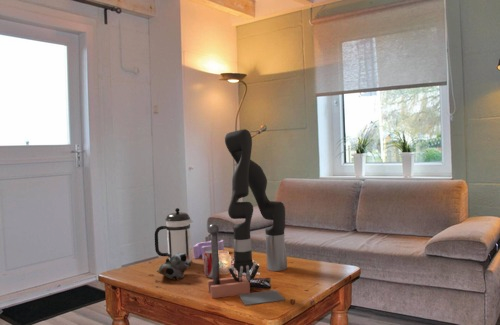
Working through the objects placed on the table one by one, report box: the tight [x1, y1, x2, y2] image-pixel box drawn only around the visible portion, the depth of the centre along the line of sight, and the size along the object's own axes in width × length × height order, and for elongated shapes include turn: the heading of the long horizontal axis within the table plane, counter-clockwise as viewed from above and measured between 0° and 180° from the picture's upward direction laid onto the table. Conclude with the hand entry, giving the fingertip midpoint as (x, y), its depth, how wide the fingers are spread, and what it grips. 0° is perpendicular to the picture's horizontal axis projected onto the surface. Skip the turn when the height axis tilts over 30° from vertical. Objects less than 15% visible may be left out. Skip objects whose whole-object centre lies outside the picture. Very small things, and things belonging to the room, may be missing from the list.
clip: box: [192, 239, 225, 261], centre depth 248 cm, size 20×12×7 cm, turn 146°
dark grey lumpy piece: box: [156, 253, 190, 281], centre depth 208 cm, size 15×12×14 cm
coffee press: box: [154, 207, 194, 267], centre depth 230 cm, size 17×16×30 cm
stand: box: [208, 223, 221, 285], centre depth 181 cm, size 4×4×29 cm
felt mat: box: [238, 289, 286, 307], centre depth 174 cm, size 16×12×1 cm
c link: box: [207, 275, 251, 299], centre depth 183 cm, size 16×10×4 cm, turn 104°
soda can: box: [203, 250, 213, 279], centre depth 206 cm, size 7×7×12 cm
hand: (244, 289), depth 185 cm, fingers closed on c link, 2 cm apart
